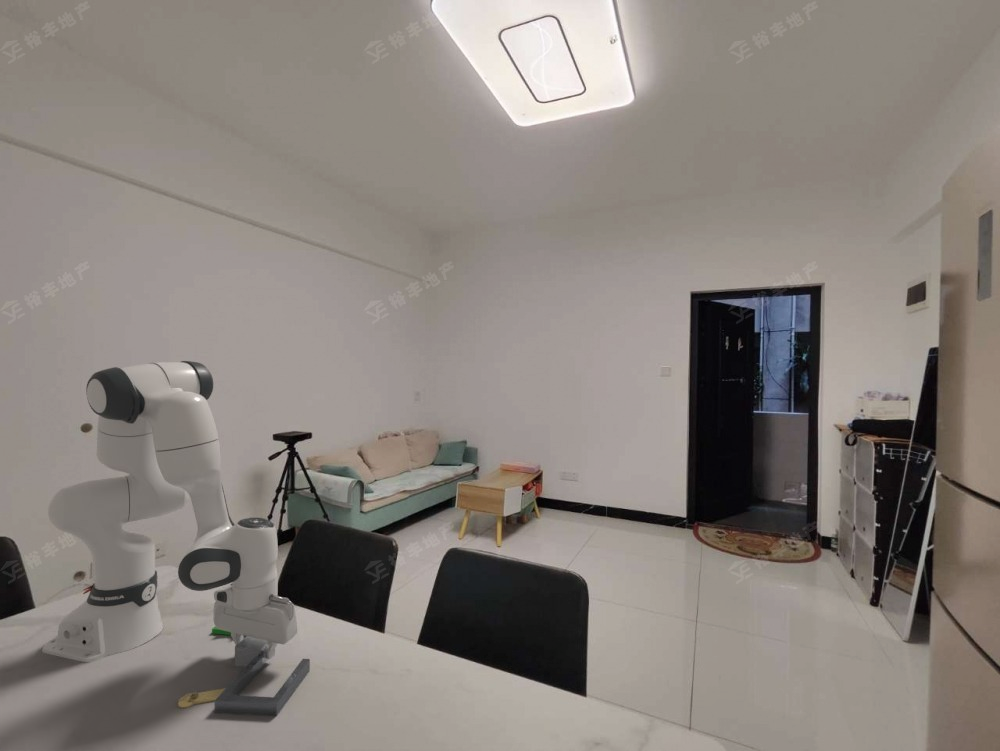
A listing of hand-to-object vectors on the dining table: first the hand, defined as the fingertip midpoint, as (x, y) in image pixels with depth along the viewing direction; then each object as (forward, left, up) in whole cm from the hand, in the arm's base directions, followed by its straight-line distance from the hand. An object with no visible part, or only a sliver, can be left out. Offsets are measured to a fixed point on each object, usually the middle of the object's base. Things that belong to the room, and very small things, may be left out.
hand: (255, 653), depth 96 cm
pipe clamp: (-12, +14, +1) cm, 19 cm away
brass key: (-2, -12, -2) cm, 12 cm away
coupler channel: (+8, -8, -2) cm, 11 cm away
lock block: (0, 0, -2) cm, 2 cm away
